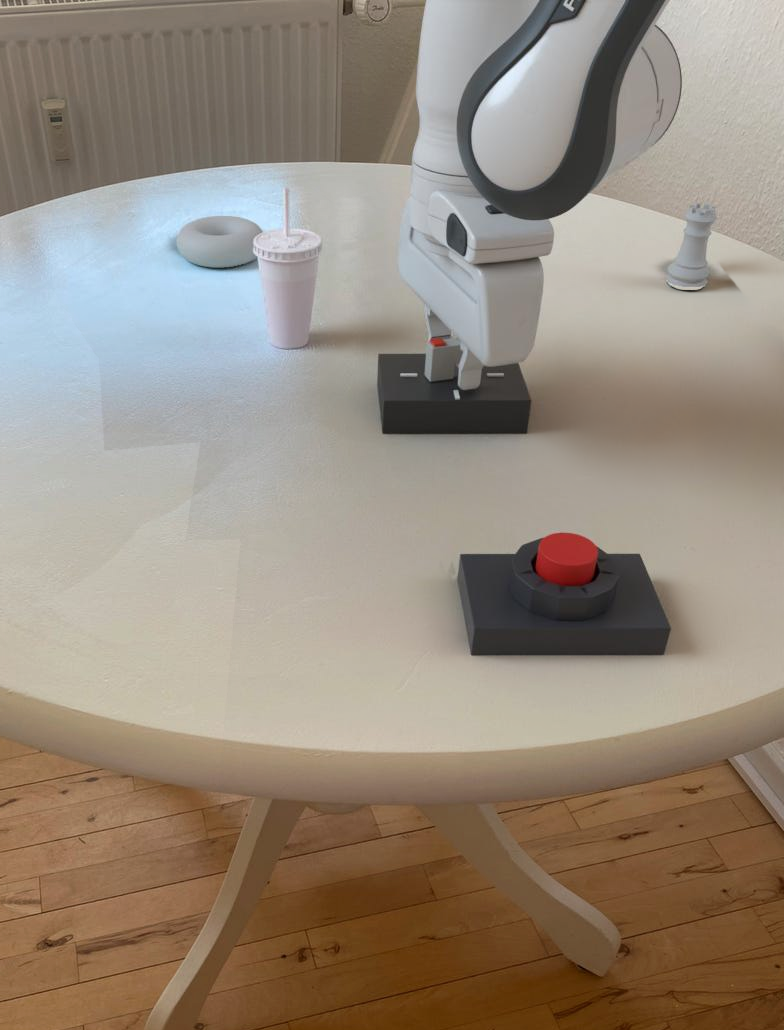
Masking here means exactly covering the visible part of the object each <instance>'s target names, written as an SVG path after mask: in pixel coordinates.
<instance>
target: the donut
mask: <svg viewBox="0 0 784 1030" xmlns="http://www.w3.org/2000/svg"><path fill="white" fill-rule="evenodd" d="M263 232H264V231H263V230H262V228H261V227H260V226H259V225H258V224H257V223H256V222H255V221H252V220H250V219H247V218H243V217H240V216H234V215H233V216H232V215H213V216H205V217H200V218H198V219H194V220H192V221H190V222H187V224H185V225H183V226H181V228H180V230H179V232H178V235H177V236H176V248H177V250H178V252H179V254H180V255H181V257H182V258H183V259H184V260H186V261H187V262H189V263H190V264H194V265H197V266H199V267H200V266H201V267H207V268H212V269H213V268H218V269H220V268H221V269H224V268H225V267H226V268H233V267H234V266H235V267H238V265H239V266H243V265H246V264H248V263H250V262H252V261H254V260H256V259H258V258H257V256H256V255H255V254H254V252H253V248H254V245H253V240H254V238H255V237H256V236H257V235H259V234H260V233H263ZM242 264H243V265H242Z"/></svg>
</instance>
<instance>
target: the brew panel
mask: <svg viewBox="0 0 784 1030" xmlns="http://www.w3.org/2000/svg"><path fill="white" fill-rule="evenodd" d="M425 361H426V353H378V356H377V377H376V387H377V395H378V405H379V406H378V407H379V415H380V425H381V433H382V434H527V433H528V428H529V421H530V415H531V406H532V398H531V395H530V392H529V389H528V387H527V384H526V381H525V378H524V376H523V372H522V369H521V366H520V363H515V364H509V365H502V366H493V367H487V366H485V365H484V367H483V368H482V372H481V381H480V385H479V386H478V387H477V388H475V389H469V390H462V389H461V388H460V387H459V386H458V385H457V384H456V382H455V381H454V379H449V380H441V381H434V382H430V381H429V380H428V379H427V377H426V376H425Z"/></svg>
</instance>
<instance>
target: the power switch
mask: <svg viewBox="0 0 784 1030" xmlns="http://www.w3.org/2000/svg"><path fill="white" fill-rule="evenodd" d="M543 538H544V537H541V538H538V539H535V540H532V541H529V542H526V543H524V544H522V545H521V546H519V548H518V550H517V551H516V552H515V553H460V554H459V559H458V570H457V580H456V581H457V586H458V593H459V596H460V602H461V607H462V614H463V618H464V619H463V620H464V624H465V630H466V636H467V640H468V644H469V645H468V646H469V651H470V655H471V656H664V655H665V653H666V649H667V646H668V642H669V638H670V634H671V631H672V627H671V625H670V622H669V620H668V617H667V615H666V613H665V610H664V608H663V605H662V603H661V601H660V599H659V595H658V594H657V592H656V589H655V586H654V584H653V582H652V579H651V577H650V574H649V572H648V569H647V568H646V565H645V562H644V561H643V560H644V559H643V558H642V556H641V553H607V552H605V551H604V550H603V549H602V548H600V547H599V546H597V545H596V547H597V549H598V557H597V561H596V566H595V571H594V576H593V578H592V580H591V581H590V582H589V583H588V584H585V585H583V586H560V585H557V584H554V583H551V582H548V581H545V580H543V579H542V578H541V577H540V576H538V574H537V572H536V561H537V555H538V549H539V544H540V542H541V540H542V539H543Z"/></svg>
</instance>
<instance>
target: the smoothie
mask: <svg viewBox="0 0 784 1030" xmlns="http://www.w3.org/2000/svg"><path fill="white" fill-rule="evenodd" d="M282 206H283V209H282V210H283V228H282V227H281V228H274V229H269V230H266V231H263V233H260V234H259V235H257V236H256V237H255V238H254V240H253V245H254V248H253V252H254V254H255V255H256V256H257V258H256V259H257V264H258V271H259V276H260V284H261V291H262V297H263V303H264V304H263V305H264V311H265V316H266V322H267V329H268V336H269V340H270V341H269V342H270V344H271V345H272V346H273V347H275V348H279V349H284V350H292V349H294V350H295V349H299V348H300V349H301V348H303V347H305V346H307V344H308V343H309V341H310V340H309V339H310V331H311V323H312V315H313V307H314V299H315V291H316V281H317V274H318V268H319V258H320V255H322V253H323V252H324V247H323V238H322V236H321V235H319V234H318V233H316V232H314V231H311V230H309V229H303V228H292V227H291V222H290V221H291V217H290V216H291V215H290V214H291V213H290V210H291V209H290V187H289V186H283V187H282Z"/></svg>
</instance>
